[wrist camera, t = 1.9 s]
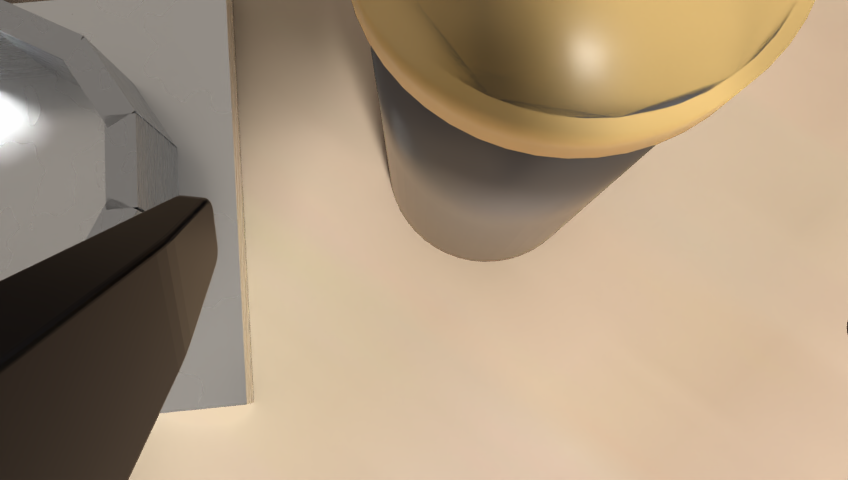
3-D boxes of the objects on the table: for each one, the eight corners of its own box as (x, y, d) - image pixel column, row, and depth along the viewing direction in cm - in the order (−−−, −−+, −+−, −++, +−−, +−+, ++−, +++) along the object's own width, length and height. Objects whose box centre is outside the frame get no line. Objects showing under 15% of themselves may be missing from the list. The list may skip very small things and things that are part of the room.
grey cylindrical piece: (501, 310, 20) (637, 241, 8) (341, 180, 21) (230, -75, 8) (625, 154, 21) (926, -133, 9) (469, 34, 22) (538, -392, 9)
